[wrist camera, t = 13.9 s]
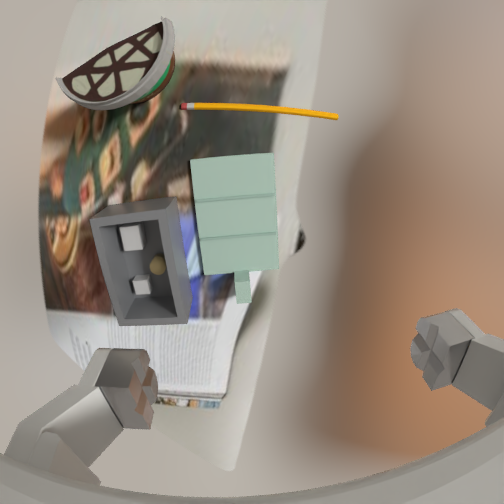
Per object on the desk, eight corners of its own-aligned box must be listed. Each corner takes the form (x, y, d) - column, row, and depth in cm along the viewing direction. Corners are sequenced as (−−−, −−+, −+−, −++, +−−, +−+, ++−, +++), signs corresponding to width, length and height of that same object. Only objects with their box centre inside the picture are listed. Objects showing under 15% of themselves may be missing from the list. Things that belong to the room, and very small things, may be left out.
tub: (109, 205, 35) (89, 219, 29) (176, 196, 35) (165, 208, 30) (131, 301, 40) (119, 325, 35) (192, 297, 41) (187, 323, 35)
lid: (190, 159, 34) (186, 162, 30) (273, 152, 34) (277, 154, 31) (207, 291, 40) (205, 305, 37) (278, 285, 41) (282, 299, 37)
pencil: (182, 103, 31) (181, 102, 31) (336, 114, 33) (338, 113, 32) (182, 109, 32) (181, 109, 31) (336, 120, 33) (338, 120, 32)
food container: (109, 131, 31) (69, 134, 22) (93, 89, 29) (51, 80, 20) (202, 85, 30) (190, 68, 21) (184, 43, 28) (167, 13, 19)
